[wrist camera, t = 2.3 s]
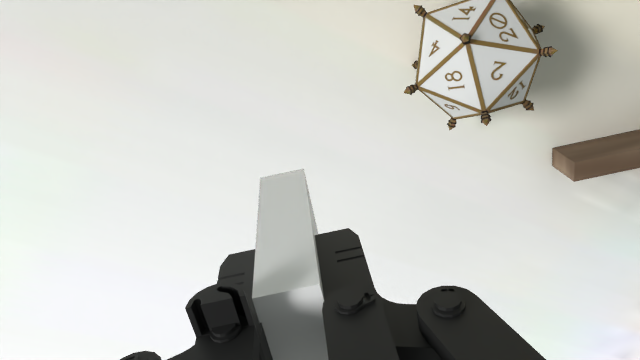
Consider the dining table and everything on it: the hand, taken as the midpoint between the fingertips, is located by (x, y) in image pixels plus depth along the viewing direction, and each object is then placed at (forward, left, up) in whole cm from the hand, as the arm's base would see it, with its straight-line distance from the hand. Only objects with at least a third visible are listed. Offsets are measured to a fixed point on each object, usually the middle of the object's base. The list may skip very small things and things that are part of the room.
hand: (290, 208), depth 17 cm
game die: (0, +12, -19) cm, 22 cm away
